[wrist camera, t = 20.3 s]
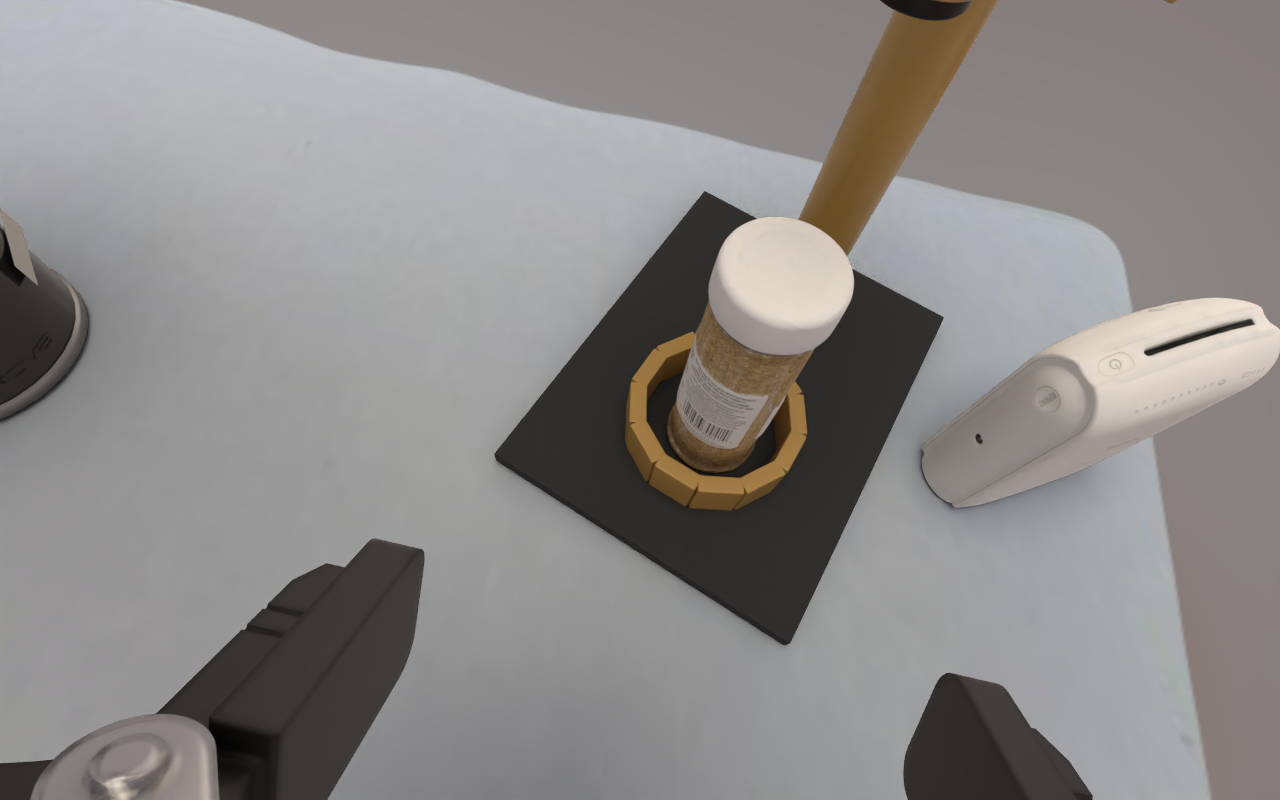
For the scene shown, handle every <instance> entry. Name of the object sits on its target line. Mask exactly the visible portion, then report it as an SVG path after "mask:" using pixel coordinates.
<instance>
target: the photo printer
mask: <svg viewBox="0 0 1280 800" xmlns="http://www.w3.org/2000/svg"><path fill="white" fill-rule="evenodd" d="M1279 352H1280V330H1279V329H1278V328H1277V327H1276V326H1274V325H1273V324H1271V323H1270V322H1269V321H1268V320H1267V319H1266V317H1265V316H1264V313H1263V310H1262V308H1261V307H1260V306H1258V305H1256V304H1253V303H1250V302H1246V301H1242V300H1236V299H1227V298H1203V299H1194V300H1188V301H1181V302H1175V303H1170V304H1165V305H1161V306H1157V307H1153V308H1149V309H1145V310H1142V311H1138V312H1135V313H1131V314H1128V315H1125V316H1122V317H1118V318H1115V319H1112V320H1109V321H1107V322H1104V323H1101V324H1098V325H1095V326H1093V327H1090V328H1087V329H1085V330H1082V331H1080V332H1077V333H1075V334H1073V335H1071V336H1069V337H1067V338H1065V339H1063V340H1061V341H1059V342H1057V343H1055V344H1053V345H1051V346H1049V347H1048V348H1046V349H1044V350H1042V351H1041V352H1039V353H1038V354H1036V355H1035V356H1033V357H1032V358H1031V359H1029V360H1028V361H1027V362H1026V363H1024V364H1023V365H1022V366H1021V367H1019V368H1018V369H1017V370H1016V371H1014V372H1013V373H1012V374H1011V375H1010V376H1008V377H1007V378H1006V379H1004V380H1003V381H1002V382H1001V383H999V384H998V385H997V386H996V387H994V388H993V389H992V390H991V391H989V392H988V393H987V394H986V395H984V396H983V397H982V398H981V399H980V400H978V401H977V402H976V403H975V404H973V405H972V406H971V407H970V408H968V409H967V410H966V411H965V412H963V413H962V414H961V415H959V416H958V417H957V418H956V419H955V420H953V421H952V422H951V423H949V424H948V425H947V426H946V427H944V428H943V429H942V430H941V431H939V432H938V433H937V434H935V435H934V436H933V437H932V438H930V439H929V440H928V441H927V442H926V443H925V444H924V445H923V446H922V450H923V452H924V456H923V457H922V469H923V473H924V476H925V478H926V481H927V482H928V484H929V486H930V487H931V489H932V490H933V491H934V492H935V493H936V494H937V495H938V496H939V497H940V498H942V499H943V500H944V501H946V502H950V503H952V505H953V506H954V507H955V508H961V507H970V506H976V505H980V504H984V503H988V502H991V501H995V500H998V499H1001V498H1004V497H1008V496H1011V495H1014V494H1017V493H1020V492H1023V491H1026V490H1029V489H1032V488H1034V487H1037V486H1040V485H1043V484H1046V483H1048V482H1051V481H1054V480H1057V479H1059V478H1062V477H1065V476H1067V475H1070V474H1072V473H1075V472H1077V471H1079V470H1082V469H1084V468H1087V467H1089V466H1091V465H1094V464H1096V463H1098V462H1100V461H1102V460H1104V459H1106V458H1108V457H1110V456H1112V455H1115V454H1117V453H1119V452H1121V451H1123V450H1125V449H1127V448H1129V447H1131V446H1133V445H1135V444H1137V443H1139V442H1141V441H1143V440H1145V439H1147V438H1149V437H1151V436H1153V435H1155V434H1156V433H1158V432H1160V431H1162V430H1164V429H1166V428H1168V427H1170V426H1172V425H1174V424H1176V423H1178V422H1180V421H1182V420H1184V419H1186V418H1188V417H1190V416H1192V415H1194V414H1196V413H1198V412H1200V411H1202V410H1204V409H1206V408H1208V407H1210V406H1212V405H1214V404H1216V403H1218V402H1220V401H1222V400H1223V399H1225V398H1227V397H1229V396H1231V395H1233V394H1235V393H1237V392H1239V391H1241V390H1243V389H1245V388H1247V387H1249V386H1250V385H1252V384H1253V383H1255V382H1256V381H1258V380H1259V379H1260V378H1261V377H1263V376H1264V375H1265V374H1266V373H1267V372H1268V371H1269V369H1270V368H1271V367H1272V366H1273V365H1274V363H1275V362H1276V360H1277V358H1278V356H1279Z"/></svg>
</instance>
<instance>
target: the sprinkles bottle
mask: <svg viewBox="0 0 1280 800" xmlns="http://www.w3.org/2000/svg"><path fill="white" fill-rule="evenodd" d="M853 289H854V276H853V270H852V267H851V264H850V262H849V260H848V258H847V256H846V254H845V253H844V251H843V250H842V248H841V247H840V246H839V245H838V244H837V243H836V242H835V241H834V240H833V239H832V238H831V237H830V236H829V235H827V234H826V233H824V232H823V231H822V230H820V229H818V228H817V227H815V226H813V225H811V224H808V223H806V222H803V221H800V220H796V219H792V218H785V217H766V218H759V219H755V220H752V221H750V222H747V223H745V224H743V225H742V226H740V227H738V228H737V229H735V230H734V231H733V232H732V233H731V234H730V235H729V236H728V237H727V239H726V240H725V241H724V243H723V245H722V247H721V249H720V251H719V254H718V257H717V260H716V262H715V265H714V268H713V271H712V274H711V278H710V282H709V290H708V293H709V300H708V304H707V306H706V310H705V313H704V316H703V318H702V321H701V323H700V325H699V327H698V329H697V332H696V335H695V338H694V341H693V344H692V348H691V351H690V354H689V357H688V361H687V364H686V367H685V370H684V373H683V376H682V379H681V382H680V385H679V389H678V393H677V400H676V403H675V405H674V406H673V408H672V410H671V412H670V414H669V416H668V422H667V436H668V439H669V443H670V445H671V447H672V449H673V451H674V452H675V453H676V455H677V456H678V457H679V458H680V459H681V460H683V461H684V463H685V464H687V465H689V466H690V467H692V468H694V469H696V470H698V471H702V472H707V473H721V472H727V471H732V470H734V469H736V468H737V467H739V466H740V465H741V464H743V463H744V462H745V461H746V460H747V458H748V457H749V456H750V454H751V452H752V451H753V449H754V447H755V443H756V441H757V439H758V438H759V436H760V435H762V433H763V432H764V431H765V430H766V428H767V427H768V425H769V424H770V422H771V421H772V419H773V417H774V416H775V414H776V413H777V411H778V409H779V408H780V406H781V405H782V403H783V401H784V399H785V397H786V394H787V393H788V391H789V389H790V388H791V386H792V385H793V383H794V382H795V380H796V378H797V377H798V375H799V373H800V372H801V371H802V369H803V367H804V365H805V363H806V362H807V361H808V359H809V357H810V356H811V354H812V352H813V351H814V349H815V348H816V347H817V346H818V345H820V344H821V343H823V342H824V341H825V340H826V339H827V338H828V337H829V336H830V335H831V333H832V332H833V330H834V329H835V327H836V326H837V324H838V323H839V321H840V319H841V318H842V316H843V314H844V312H845V311H846V309H847V307H848V305H849V303H850V301H851V298H852V295H853Z"/></svg>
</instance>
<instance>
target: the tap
mask: <svg viewBox="0 0 1280 800" xmlns="http://www.w3.org/2000/svg"><path fill="white" fill-rule="evenodd" d="M881 1H882V2H883V3H884V4H886V5H887V6H888V7H890V8H892V9H893V13H892V15H891V17H890V19H889V21H888V23H887V26H886V28H885V30H884V32H883V34H882V37H881V39H880V41H879V43H878V45H877V48H876V50H875V52H874V54H873V56H872V59H871V61H870V63H869V65H868V67H867V70H866V72H865V74H864V76H863V78H862V81H861V83H860V85H859V87H858V89H857V92H856V94H855V96H854V98H853V100H852V103H851V105H850V108H849V109H848V111H847V114H846V116H845V118H844V120H843V123H842V125H841V127H840V129H839V131H838V133H837V136H836V138H835V140H834V142H833V144H832V146H831V149H830V151H829V153H828V155H827V157H826V160H825V162H824V164H823V166H822V168H821V171H820V173H819V175H818V177H817V179H816V182H815V184H814V186H813V188H812V190H811V193H810V195H809V197H808V199H807V201H806V204H805V206H804V208H803V210H802V212H801V215H800V217H799V219H798V220H800V221H803V222H806V223H808V224H811V225H813V226H815V227H817V228H818V229H820V230H822V231H823V232H824V233H826V234H827V235H829V236H830V237H831V238H832V239H833V240H834V241H835V242H836V243H837V244H838V245H839V246H840V247H841V248H842V250H843V251H844V253H845V254H846V256H848V254H849V253H850V251H851V249H852V247H853V246H854V244H855V242H856V241H857V239H858V237H859V236H860V234H861V232H862V231H863V229H864V227H865V226H866V224H867V222H868V220H869V219H870V217H871V215H872V214H873V212H874V210H875V209H876V207H877V205H878V204H879V202H880V200H881V199H882V197H883V195H884V194H885V192H886V190H887V188H888V187H889V185H890V183H891V182H892V180H893V178H894V177H895V175H896V173H897V172H898V170H899V168H900V166H901V165H902V163H903V161H904V160H905V158H906V156H907V155H908V153H909V151H910V149H911V148H912V146H913V145H914V143H915V141H916V140H917V138H918V136H919V134H920V133H921V131H922V129H923V128H924V126H925V124H926V123H927V121H928V119H929V118H930V116H931V114H932V112H933V111H934V109H935V108H936V106H937V104H938V102H939V101H940V99H941V97H942V96H943V94H944V92H945V91H946V89H947V87H948V85H949V84H950V82H951V81H952V79H953V77H954V75H955V74H956V72H957V70H958V69H959V67H960V65H961V64H962V62H963V60H964V59H965V57H966V55H967V53H968V52H969V50H970V48H971V47H972V45H973V43H974V42H975V40H976V38H977V37H978V35H979V33H980V31H981V30H982V28H983V27H984V25H985V23H986V22H987V20H988V18H989V16H990V15H991V13H992V11H993V10H994V8H995V6H996V5H997V3H998V1H999V0H881ZM1164 1H1167V2H1169V3H1174V2H1175V1H1176V0H1164ZM695 335H696V333H695V334H694V332H691V333H688V334H686V335H683V336H681V337H678V338H676V339H674V340H671V341H669V342H666V343H664V344H662V345H659V346H657V348H656V349H653V351H652V352H651V353H650V355H649V356H648V358H647V359H646V360H645V362H644V363H643V364H642V366H641V367H640V369H639V370H638V371H637V373H636V374H635V375H634V377H633V378H632V382H631V383H630V389H629V394H628V399H627V405H626V426H625V443H626V447H627V449H628V451H629V453H630V454H631V456H632V458H633V460H634V461H635V463H636V465H637V467H638V469H639V470H640V472H641V474H642V476H643V478H644V479H645V481H649V480H650V481H649V484H650V485H651V486H652V487H654V488H656V489H657V490H659V491H661V492H662V493H664V494H665V495H667V496H669V497H670V498H672V499H673V500H675V501H677V502H678V503H680V504H681V505H683V506H687V504H688V503H689V508H695V509H712V510H729V511H731V510H732V509H733V508H734V509H735V510H737V509H739V508H741V507H743V506H745V505H746V504H748V503H750V502H752V501H754V500H756V499H758V498H760V497H762V496H764V495H766V494H768V493H769V492H771V491H772V490H773V489H774V488H775V487H776V485H777V484H778V483H779V482H780V481H781V480H782V478H783V477H784V476H785V475H786V474H787V473H788V471H789V470H790V468H791V466H792V464H793V462H794V460H795V459H796V457H797V455H798V453H799V451H800V449H801V447H802V446H803V444H804V442H805V440H806V435H807V425H806V415H805V404H804V396H803V395H800V394H801V393H802V390H801V389H800V388H799V386H798V385H797V383H796V382H794V383H793V385H792V386H791V388H790V389H789V391H788V393H787V394H786V397H785V399H784V401H783V403H782V405H781V406H780V408H779V409H778V411H777V413H776V414H775V416H774V424H775V438H776V451H775V453H774V455H773V457H772V458H771V460H770V462H769V464H767V465H765V466H763V467H761V468H759V469H757V470H755V471H753V472H751V473H749V474H747V475H745V476H743V477H741V478H735V477H719V476H703V475H699V474H697V473H696V472H694V471H692V470H691V469H689V468H688V467H686V466H684V465H683V464H681V463H679V462H678V461H676V460H674V459H673V458H671V457H669V456H668V455H666V454H665V452H664V450H663V448H662V447H661V445H660V443H659V442H658V440H657V438H656V436H655V435H654V433H653V431H652V430H651V428H650V426H649V424H648V423H647V421H646V417H647V400H648V399H649V397H650V396H651V395H652V393H653V392H654V390H655V389H656V387H657V386H658V385H659V383H660V382H661V381H663V380H666V379H668V378H670V377H673V376H675V375H677V374H680V373H682V372H684V370H685V367H686V364H687V361H688V357H689V354H690V351H691V348H692V344H693V341H694V338H695Z"/></svg>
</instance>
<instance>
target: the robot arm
mask: <svg viewBox="0 0 1280 800" xmlns="http://www.w3.org/2000/svg"><path fill="white" fill-rule="evenodd" d="M0 214H1V218H2V221H3V225H4V227H3V226H2V225H1V224H0V419H3V418H5V417H7V416H9V415H11V414H14V413H16V412H17V411H19V410H21V409H23V408H25V407H26V406H28V405H30V404H31V403H33V402H34V401H36V400H37V399H38V398H40V397H41V396H42V395H44V394H45V393H46V392H48V391H49V390H50V389H51V388H52V387H53V386H54V385H55V384H56V383H57V382H58V381H59V380H60V379H61V378H62V377H63V376H64V375H65V374H66V373H67V371H68V370H69V369H70V368H71V366H72V365H73V363H74V362H75V360H76V359H77V357H78V355H79V353H80V351H81V349H82V347H83V344H84V341H85V338H86V333H87V326H88V318H87V311H86V307H85V304H84V302H83V300H82V298H81V296H80V295H79V293H78V292H77V291H76V290H75V289H74V288H73V287H72V286H71V285H70V284H69V283H68V282H67V281H66V280H65V279H64V278H63V277H62V276H60V275H59V274H58V273H56V272H55V271H53V270H52V269H50V268H48V267H47V266H46V265H45V264H44V263H43V262H42V261H41V260H39V259H38V258H37V257H36V256H35V255H34V254H33V253H32V252H31V251H29V250H28V248H27V245H26V242H25V238H24V235H23V231H22V228H21V227H20V226H19V225H18V224H17V223H16V222H14V221H13V220H12V219H11V218H10V217H9V216H8V215H7V214H6V213H5V212H4V211H3V210H1V209H0ZM423 568H424V551H423V550H422V549H418V548H414V547H409V546H405V545H401V544H396V543H392V542H388V541H383V540H379V539H372V540H370V541H369V542H368V543H367V544H366V545H365V546H364V547H363V548H362V549H361V550H360V552H359V553H358V554H357V555H356V556H355V557H354V558H353V559H352V560H351V561H350V563H349V564H348V565H347V566H346V567H345V568H344V567H340V566H336V565H331V564H327V563H326V564H324V565H322V566H320V567H318V568H316V569H314V570H312V571H310V572H308V573H306V574H304V575H302V576H300V577H298V578H296V579H294V580H292V581H291V582H290V583H289V584H288V585H287V586H286V587H285V588H284V589H283V590H282V591H281V592H280V593H279V594H278V595H277V596H276V597H275V598H274V599H272V600H271V601H270V602H269V603H268V606H267V608H266V609H262V610H261V611H260V612H259V613H258V614H257V615H256V616H255V617H254V618H253V619H252V620H251V621H250V622H249V623H248V624H247V627H246V629H245V630H241V631H240V632H239V633H238V634H237V635H236V636H235V637H234V638H233V639H232V640H231V641H230V642H229V643H228V644H227V645H226V646H225V647H224V648H223V649H222V650H221V651H220V652H219V653H218V654H216V655H215V656H214V657H213V658H212V659H211V660H210V661H209V662H208V663H207V664H206V665H205V666H204V667H203V668H202V669H201V670H200V671H199V672H198V673H197V674H196V675H195V676H194V677H193V678H192V679H191V680H190V681H189V682H188V683H187V684H186V685H185V686H184V687H183V688H182V689H181V690H180V691H179V692H178V693H177V694H176V695H175V696H174V697H173V698H172V699H171V700H170V701H169V702H168V703H167V704H166V705H165V706H164V707H163V708H162V709H160V710H159V711H158V712H157V713H156V714H152V715H143V716H138V717H132V718H129V719H125V720H121V721H118V722H115V723H112V724H110V725H107V726H104V727H102V728H100V729H98V730H96V731H94V732H92V733H89V734H88V735H86V736H84V737H83V738H81V739H79V740H78V741H76V742H74V743H73V744H72V745H70V746H69V747H68V748H66V749H65V750H64V751H62V752H61V753H60V754H59V755H58V756H57V757H56V758H55V759H54V760H45V761H34V762H17V763H0V800H327V799H328V797H329V796H330V794H331V792H332V791H333V789H334V787H335V785H336V784H337V782H338V780H339V779H340V777H341V775H342V774H343V772H344V770H345V769H346V767H347V765H348V764H349V762H350V760H351V758H352V757H353V755H354V753H355V752H356V750H357V748H358V747H359V745H360V743H361V742H362V740H363V738H364V736H365V735H366V733H367V731H368V730H369V728H370V726H371V725H372V723H373V721H374V720H375V718H376V716H377V715H378V713H379V711H380V709H381V708H382V706H383V704H384V703H385V701H386V699H387V698H388V696H389V694H390V693H391V691H392V689H393V688H394V686H395V684H396V682H397V681H398V679H399V677H400V675H401V673H402V671H403V669H404V667H405V665H406V662H407V659H408V657H409V654H410V650H411V647H412V643H413V639H414V634H415V628H416V620H417V613H418V605H419V598H420V591H421V583H422V576H423ZM904 786H905V791H906V795H907V798H908V800H1092V797H1093V796H1092V794H1091V793H1090V791H1089V790H1088V788H1087V787H1086V785H1085V784H1084V782H1083V781H1082V780H1081V778H1080V777H1079V775H1078V774H1077V772H1076V771H1075V769H1074V768H1073V766H1072V765H1071V763H1070V762H1069V761H1068V760H1067V759H1066V758H1065V757H1064V756H1063V755H1062V754H1061V753H1060V752H1059V751H1058V750H1057V749H1056V748H1055V747H1054V746H1053V745H1052V744H1051V743H1050V742H1049V741H1048V740H1047V739H1046V738H1045V737H1044V736H1042V735H1041V734H1040V733H1039V732H1038V731H1037V730H1036V729H1034V728H1031V727H1030V725H1029V724H1028V722H1027V721H1026V719H1025V718H1024V716H1023V715H1022V713H1021V711H1020V710H1019V708H1018V707H1017V705H1016V704H1015V702H1014V701H1013V699H1012V698H1011V696H1010V694H1009V693H1008V692H1007V690H1006V689H1005V688H1004V687H1003V686H1001V685H999V684H996V683H991V682H987V681H983V680H978V679H974V678H970V677H965V676H961V675H957V674H952V673H946V674H944V675H943V676H941V677H940V679H939V680H938V682H937V684H936V685H935V688H934V690H933V692H932V694H931V697H930V699H929V701H928V703H927V706H926V708H925V710H924V712H923V715H922V717H921V719H920V721H919V724H918V726H917V728H916V730H915V733H914V735H913V737H912V739H911V742H910V744H909V746H908V749H907V751H906V755H905V760H904Z"/></svg>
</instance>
